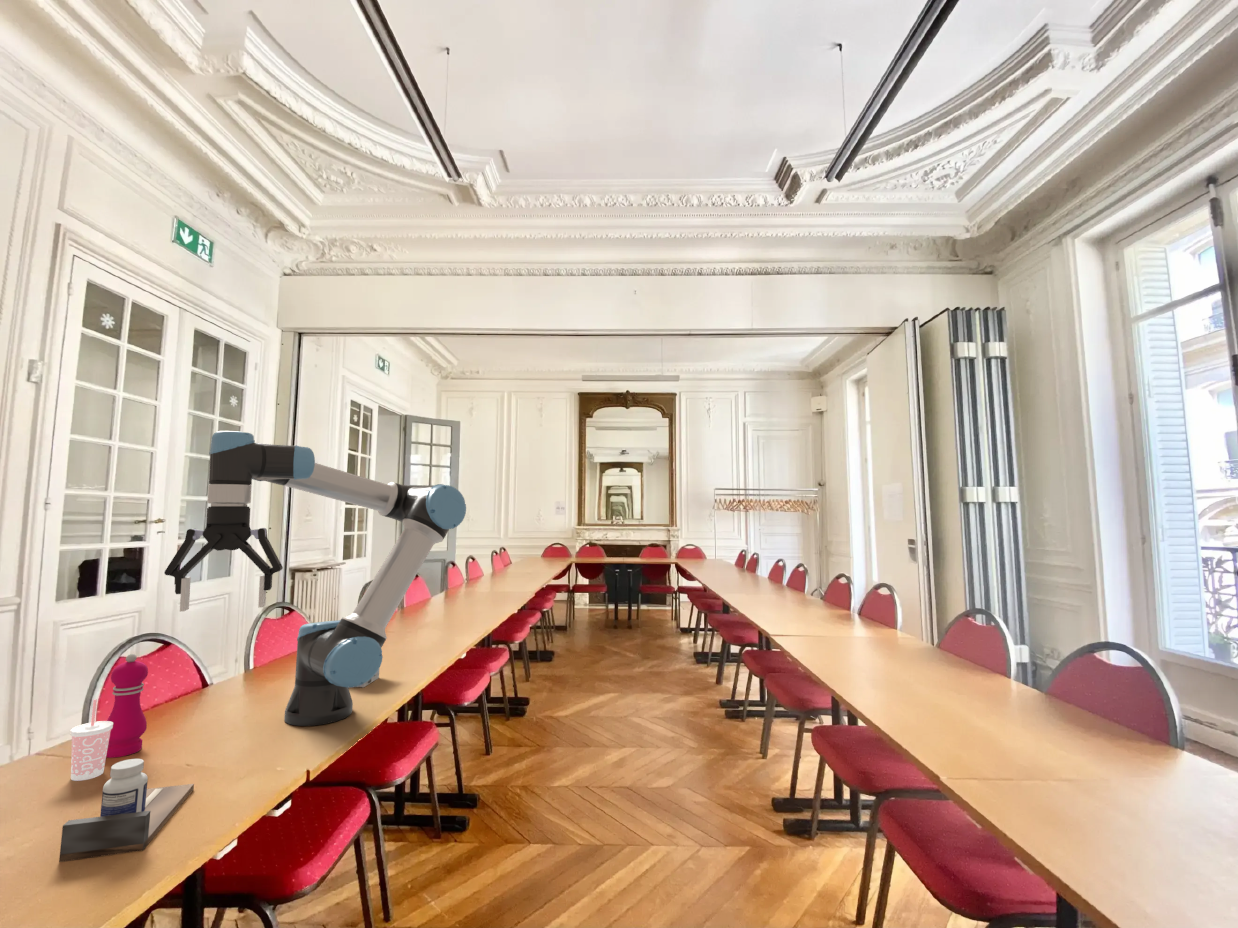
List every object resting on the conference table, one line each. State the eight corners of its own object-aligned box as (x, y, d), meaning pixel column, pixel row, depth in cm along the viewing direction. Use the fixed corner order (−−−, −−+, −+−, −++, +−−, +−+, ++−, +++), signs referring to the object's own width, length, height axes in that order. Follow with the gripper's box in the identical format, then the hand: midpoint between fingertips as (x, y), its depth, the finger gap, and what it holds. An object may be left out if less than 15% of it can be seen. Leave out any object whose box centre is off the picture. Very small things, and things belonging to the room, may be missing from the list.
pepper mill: (118, 760, 116) (127, 659, 118) (89, 757, 117) (99, 656, 119) (153, 746, 123) (162, 651, 125) (126, 743, 124) (135, 649, 126)
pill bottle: (120, 818, 92) (126, 755, 93) (152, 820, 92) (158, 757, 93) (88, 837, 87) (94, 770, 88) (122, 839, 87) (129, 771, 88)
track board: (193, 789, 105) (195, 760, 105) (142, 850, 86) (146, 815, 86) (126, 796, 102) (129, 767, 102) (59, 862, 83) (62, 825, 83)
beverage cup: (58, 784, 105) (66, 706, 107) (74, 771, 111) (81, 696, 112) (101, 779, 108) (108, 702, 109) (114, 766, 114) (121, 693, 115)
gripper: (299, 505, 128) (295, 602, 126) (163, 505, 119) (157, 608, 118) (293, 505, 121) (289, 607, 119) (148, 505, 112) (142, 615, 111)
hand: (223, 608), depth 119 cm, fingers open, 13 cm apart
